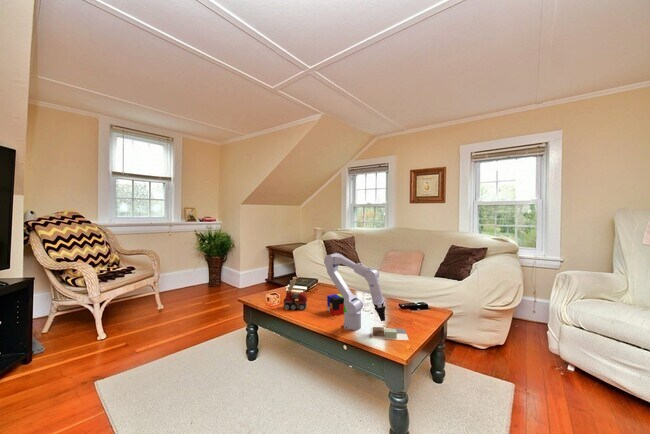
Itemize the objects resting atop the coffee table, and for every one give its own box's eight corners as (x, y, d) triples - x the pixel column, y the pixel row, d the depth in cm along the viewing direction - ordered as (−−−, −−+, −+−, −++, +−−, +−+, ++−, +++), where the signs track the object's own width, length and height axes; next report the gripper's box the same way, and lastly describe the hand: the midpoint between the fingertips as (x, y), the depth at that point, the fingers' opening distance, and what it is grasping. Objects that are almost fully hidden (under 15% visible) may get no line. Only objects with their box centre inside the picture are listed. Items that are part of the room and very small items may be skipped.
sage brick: (385, 337, 138) (385, 331, 138) (384, 334, 142) (384, 328, 142) (396, 338, 137) (396, 332, 137) (395, 334, 141) (395, 328, 141)
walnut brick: (373, 335, 140) (373, 330, 140) (372, 332, 144) (372, 326, 144) (384, 336, 140) (384, 330, 140) (383, 332, 144) (383, 327, 144)
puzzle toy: (327, 310, 180) (327, 295, 179) (340, 308, 184) (340, 293, 184) (334, 315, 171) (334, 300, 171) (348, 313, 175) (348, 297, 175)
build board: (372, 340, 137) (372, 338, 137) (370, 329, 150) (370, 327, 150) (408, 342, 135) (408, 339, 135) (404, 330, 148) (404, 328, 148)
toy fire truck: (305, 310, 180) (305, 284, 180) (282, 310, 182) (282, 283, 182) (308, 304, 192) (308, 279, 191) (287, 304, 193) (286, 279, 193)
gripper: (384, 293, 136) (391, 320, 134) (382, 288, 150) (388, 313, 149) (371, 296, 137) (377, 323, 135) (369, 291, 151) (375, 316, 149)
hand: (382, 318), depth 142 cm, fingers open, 7 cm apart
